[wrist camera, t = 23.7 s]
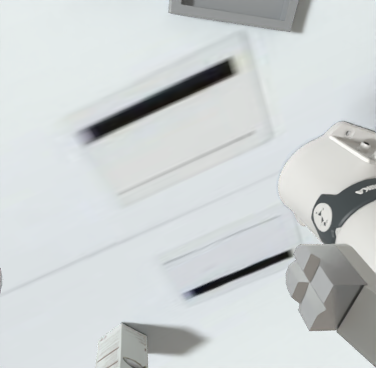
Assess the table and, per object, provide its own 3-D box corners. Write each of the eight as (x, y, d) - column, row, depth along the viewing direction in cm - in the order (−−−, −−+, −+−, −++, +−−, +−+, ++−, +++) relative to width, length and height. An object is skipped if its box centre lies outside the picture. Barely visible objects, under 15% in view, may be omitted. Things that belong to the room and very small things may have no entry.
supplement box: (148, 334, 66) (151, 401, 55) (123, 351, 67) (121, 419, 57) (122, 321, 62) (119, 388, 51) (96, 339, 64) (89, 408, 53)
